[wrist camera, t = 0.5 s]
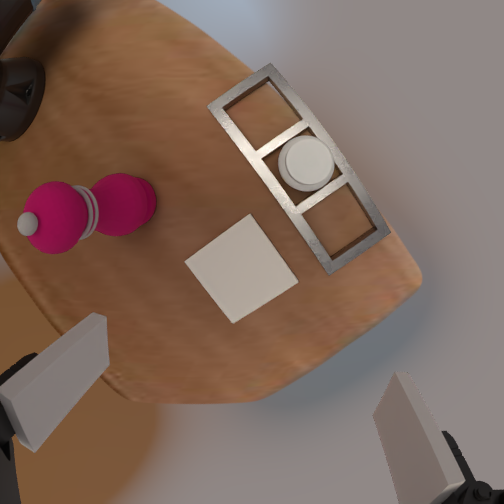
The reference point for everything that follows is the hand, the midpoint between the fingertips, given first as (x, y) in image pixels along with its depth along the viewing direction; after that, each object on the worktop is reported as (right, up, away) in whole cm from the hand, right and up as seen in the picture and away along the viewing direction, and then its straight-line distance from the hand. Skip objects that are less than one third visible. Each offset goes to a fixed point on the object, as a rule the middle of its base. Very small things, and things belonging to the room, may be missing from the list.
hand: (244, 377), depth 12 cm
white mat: (-1, +3, +25) cm, 25 cm away
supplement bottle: (+6, +15, +22) cm, 27 cm away
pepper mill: (-15, +12, +24) cm, 31 cm away
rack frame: (+6, +15, +21) cm, 27 cm away
